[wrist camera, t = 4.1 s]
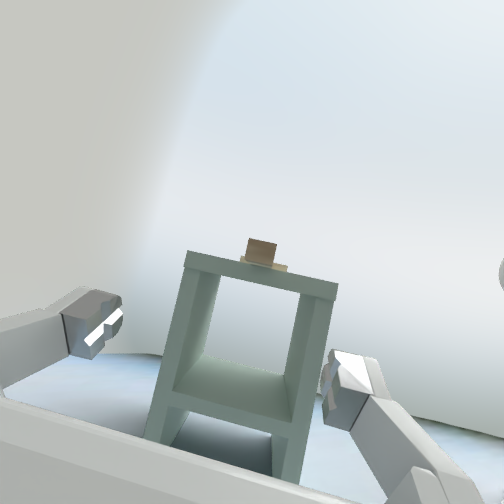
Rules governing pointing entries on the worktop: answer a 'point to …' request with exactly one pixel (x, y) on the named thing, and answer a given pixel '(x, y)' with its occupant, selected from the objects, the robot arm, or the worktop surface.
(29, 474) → the robot arm
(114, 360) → the worktop surface
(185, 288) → the shelf
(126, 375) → the worktop surface
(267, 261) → the turner
